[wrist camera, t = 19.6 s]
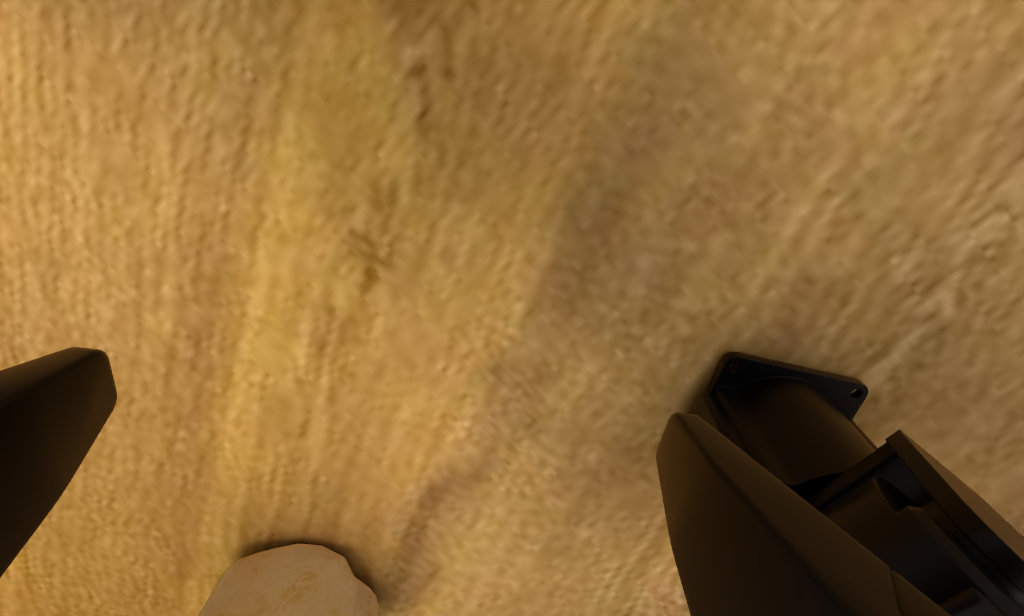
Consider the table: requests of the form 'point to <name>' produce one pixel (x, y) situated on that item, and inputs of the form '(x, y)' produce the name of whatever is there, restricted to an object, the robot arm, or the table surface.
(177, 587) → the table surface
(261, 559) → the food model
